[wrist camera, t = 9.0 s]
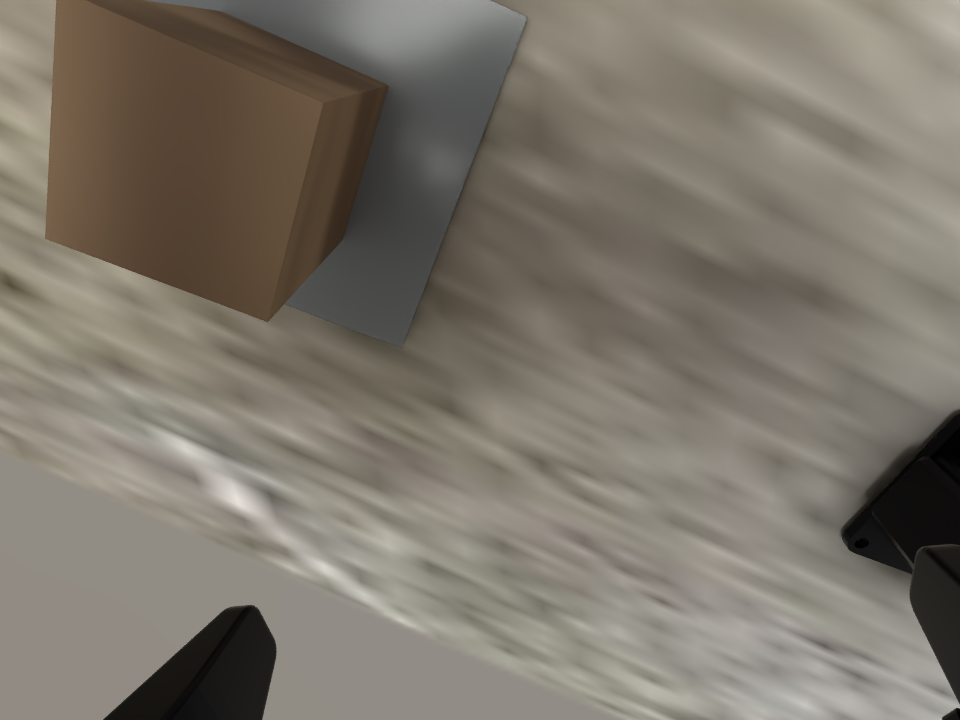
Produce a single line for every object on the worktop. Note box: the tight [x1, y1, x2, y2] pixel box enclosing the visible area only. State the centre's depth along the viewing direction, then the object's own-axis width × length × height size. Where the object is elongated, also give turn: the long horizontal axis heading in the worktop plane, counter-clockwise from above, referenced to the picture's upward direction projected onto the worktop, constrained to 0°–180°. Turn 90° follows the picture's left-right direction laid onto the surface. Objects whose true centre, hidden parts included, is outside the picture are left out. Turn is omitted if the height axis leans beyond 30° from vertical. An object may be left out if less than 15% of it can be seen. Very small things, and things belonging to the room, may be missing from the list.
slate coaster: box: [145, 0, 527, 348], centre depth 16 cm, size 10×10×1 cm
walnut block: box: [45, 0, 389, 322], centre depth 13 cm, size 4×4×6 cm
